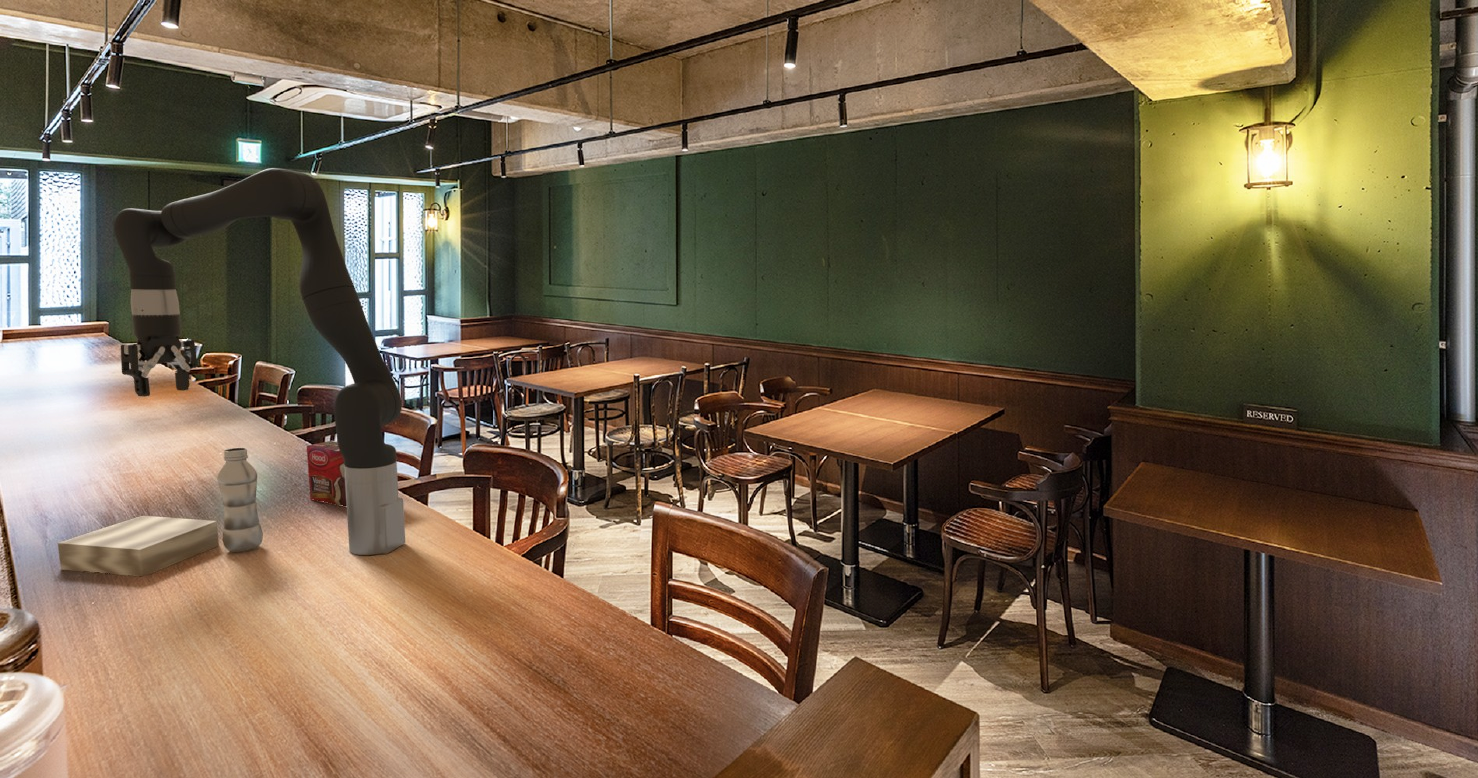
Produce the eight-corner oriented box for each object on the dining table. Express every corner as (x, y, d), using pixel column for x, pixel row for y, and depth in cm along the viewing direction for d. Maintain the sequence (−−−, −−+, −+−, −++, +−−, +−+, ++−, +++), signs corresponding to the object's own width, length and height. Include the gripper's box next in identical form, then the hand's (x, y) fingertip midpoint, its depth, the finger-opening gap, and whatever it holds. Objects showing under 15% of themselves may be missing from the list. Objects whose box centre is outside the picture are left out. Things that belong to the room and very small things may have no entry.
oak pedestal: (218, 545, 146) (216, 521, 145) (142, 576, 130) (139, 549, 129) (144, 539, 148) (142, 515, 148) (60, 569, 133) (57, 543, 132)
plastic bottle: (244, 557, 140) (236, 454, 137) (214, 553, 141) (205, 452, 139) (272, 545, 146) (264, 447, 143) (243, 542, 148) (235, 445, 145)
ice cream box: (392, 504, 174) (389, 449, 172) (368, 512, 168) (365, 455, 166) (334, 493, 182) (331, 440, 180) (310, 500, 177) (306, 445, 175)
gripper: (138, 314, 139) (146, 399, 141) (203, 311, 153) (210, 388, 155) (104, 313, 140) (113, 397, 142) (172, 310, 154) (179, 387, 156)
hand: (163, 393), depth 149 cm, fingers open, 8 cm apart
